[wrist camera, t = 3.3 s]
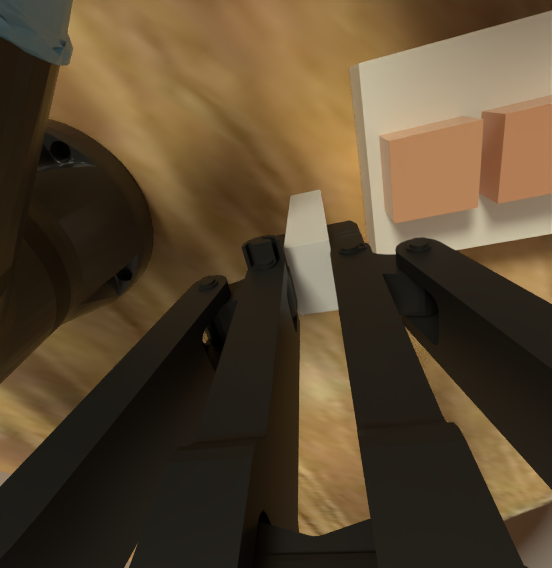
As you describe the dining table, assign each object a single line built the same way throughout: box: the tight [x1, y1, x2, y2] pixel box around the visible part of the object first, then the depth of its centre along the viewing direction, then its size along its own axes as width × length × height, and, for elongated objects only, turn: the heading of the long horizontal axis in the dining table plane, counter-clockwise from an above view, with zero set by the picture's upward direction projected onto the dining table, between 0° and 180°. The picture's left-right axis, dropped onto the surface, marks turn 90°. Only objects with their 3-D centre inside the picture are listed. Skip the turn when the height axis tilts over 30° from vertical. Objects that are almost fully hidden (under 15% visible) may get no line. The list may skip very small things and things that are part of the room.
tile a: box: [379, 116, 484, 223], centre depth 19 cm, size 4×4×2 cm
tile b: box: [479, 95, 552, 204], centre depth 18 cm, size 4×4×2 cm
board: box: [349, 10, 552, 254], centre depth 21 cm, size 13×12×4 cm
